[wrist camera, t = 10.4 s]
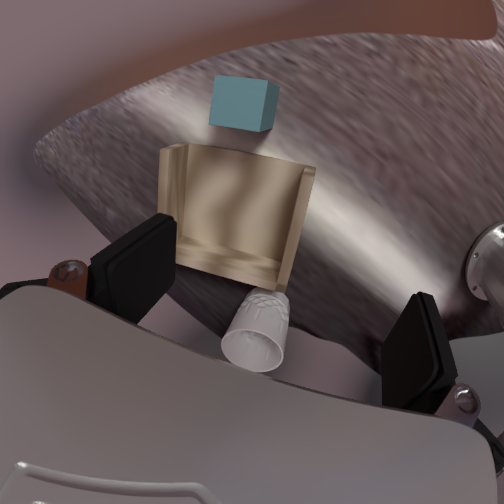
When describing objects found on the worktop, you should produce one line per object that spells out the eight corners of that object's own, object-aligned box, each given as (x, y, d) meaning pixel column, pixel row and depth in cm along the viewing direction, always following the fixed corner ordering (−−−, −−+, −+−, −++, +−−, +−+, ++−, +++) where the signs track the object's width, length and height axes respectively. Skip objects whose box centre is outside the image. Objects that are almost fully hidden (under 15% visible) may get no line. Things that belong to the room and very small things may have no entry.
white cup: (284, 329, 44) (272, 378, 35) (237, 313, 45) (216, 359, 36) (301, 292, 40) (292, 342, 31) (248, 274, 41) (226, 320, 32)
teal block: (279, 87, 28) (268, 80, 22) (272, 128, 30) (259, 132, 25) (237, 81, 29) (215, 75, 23) (231, 121, 31) (208, 124, 25)
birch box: (315, 167, 31) (314, 178, 27) (290, 269, 39) (284, 293, 34) (182, 142, 34) (160, 148, 29) (176, 239, 41) (158, 257, 36)
